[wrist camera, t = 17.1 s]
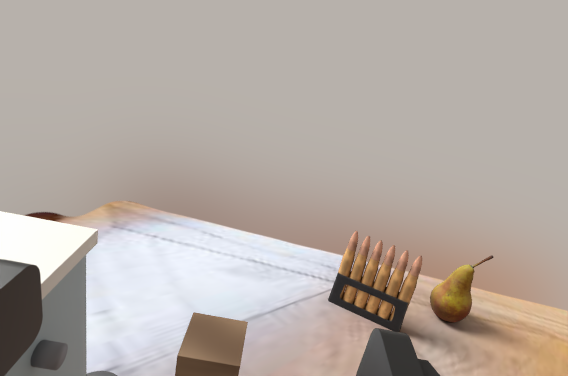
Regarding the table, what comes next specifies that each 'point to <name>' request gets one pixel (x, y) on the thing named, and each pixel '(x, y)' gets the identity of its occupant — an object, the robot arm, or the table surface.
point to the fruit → (454, 294)
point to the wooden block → (211, 347)
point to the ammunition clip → (375, 284)
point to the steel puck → (101, 373)
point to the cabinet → (52, 290)
